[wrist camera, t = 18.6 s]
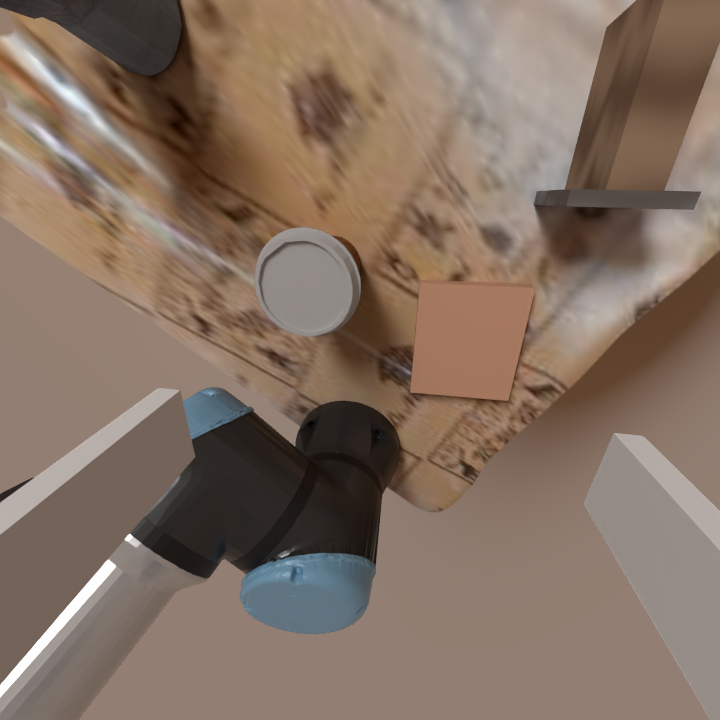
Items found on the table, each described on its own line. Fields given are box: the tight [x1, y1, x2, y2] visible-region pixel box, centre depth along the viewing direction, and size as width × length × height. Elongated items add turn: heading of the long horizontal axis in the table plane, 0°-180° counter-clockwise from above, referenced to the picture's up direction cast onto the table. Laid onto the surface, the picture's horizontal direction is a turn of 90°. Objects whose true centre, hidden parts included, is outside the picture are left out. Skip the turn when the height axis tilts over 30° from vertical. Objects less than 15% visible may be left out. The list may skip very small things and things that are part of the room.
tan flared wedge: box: [534, 0, 720, 210], centre depth 26 cm, size 13×9×8 cm
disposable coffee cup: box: [254, 228, 361, 336], centre depth 33 cm, size 10×10×12 cm
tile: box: [410, 280, 535, 401], centre depth 40 cm, size 2×12×14 cm
